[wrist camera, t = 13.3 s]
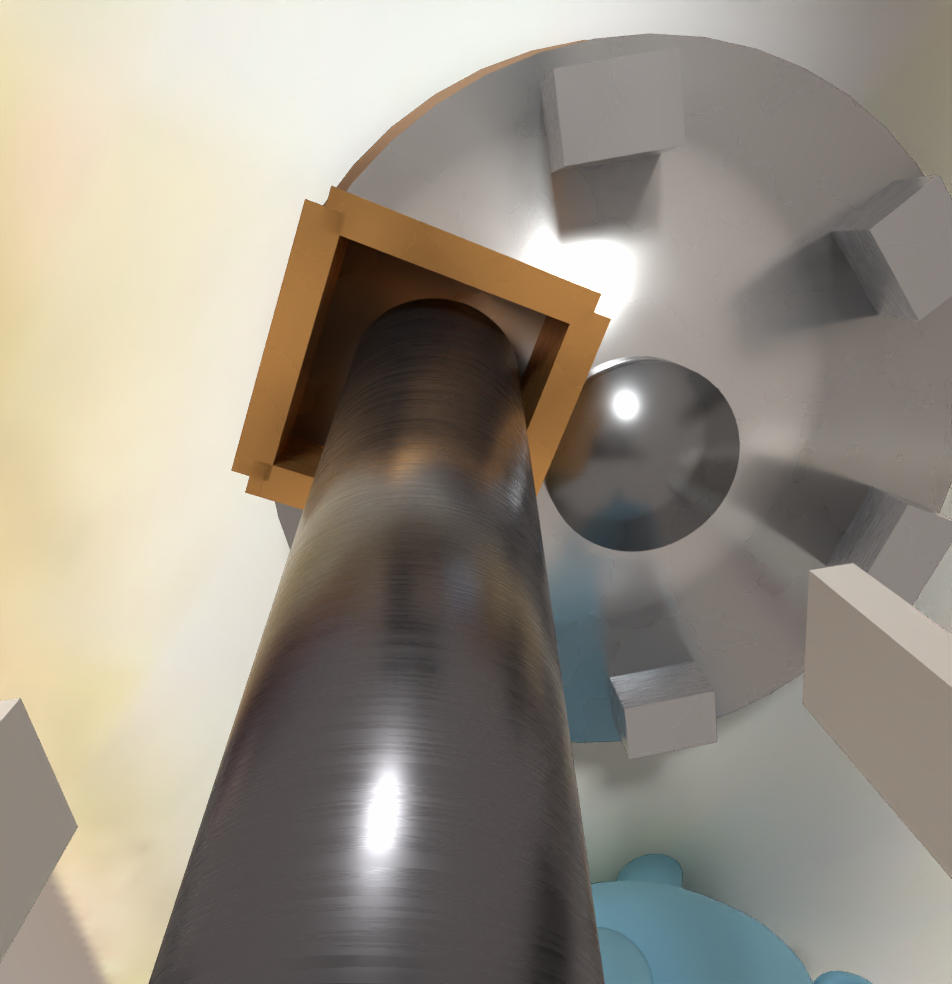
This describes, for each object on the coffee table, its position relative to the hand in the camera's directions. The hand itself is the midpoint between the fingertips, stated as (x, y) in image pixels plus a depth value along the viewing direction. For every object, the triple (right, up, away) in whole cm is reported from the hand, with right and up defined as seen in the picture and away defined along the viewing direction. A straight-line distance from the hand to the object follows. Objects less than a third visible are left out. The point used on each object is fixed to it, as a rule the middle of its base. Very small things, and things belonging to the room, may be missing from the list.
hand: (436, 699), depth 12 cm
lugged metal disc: (+5, +5, +8) cm, 11 cm away
